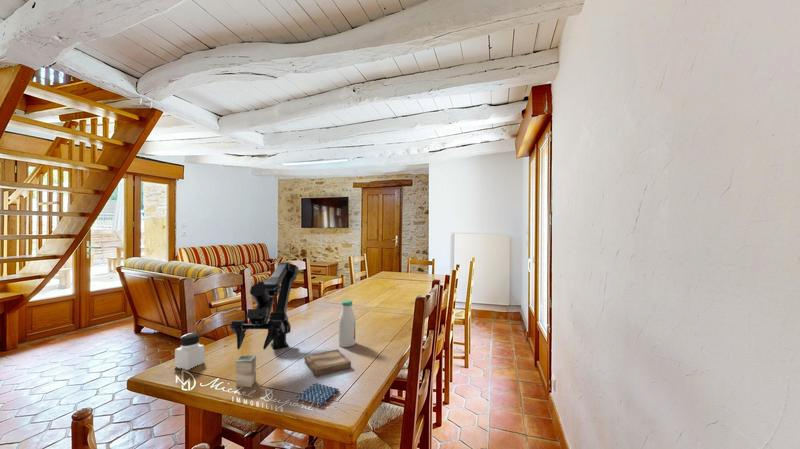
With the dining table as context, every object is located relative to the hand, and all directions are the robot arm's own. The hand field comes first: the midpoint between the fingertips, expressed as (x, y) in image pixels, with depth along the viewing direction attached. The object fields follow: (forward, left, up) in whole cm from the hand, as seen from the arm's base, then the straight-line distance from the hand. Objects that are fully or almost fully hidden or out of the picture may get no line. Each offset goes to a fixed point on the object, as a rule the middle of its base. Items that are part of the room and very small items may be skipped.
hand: (251, 348), depth 115 cm
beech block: (+3, -2, -11) cm, 11 cm away
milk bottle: (-12, +42, -11) cm, 45 cm away
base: (+4, +27, -11) cm, 29 cm away
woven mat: (+24, +17, -11) cm, 32 cm away
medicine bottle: (-24, -19, -11) cm, 32 cm away
